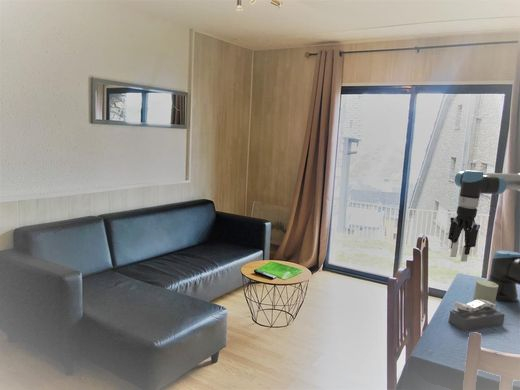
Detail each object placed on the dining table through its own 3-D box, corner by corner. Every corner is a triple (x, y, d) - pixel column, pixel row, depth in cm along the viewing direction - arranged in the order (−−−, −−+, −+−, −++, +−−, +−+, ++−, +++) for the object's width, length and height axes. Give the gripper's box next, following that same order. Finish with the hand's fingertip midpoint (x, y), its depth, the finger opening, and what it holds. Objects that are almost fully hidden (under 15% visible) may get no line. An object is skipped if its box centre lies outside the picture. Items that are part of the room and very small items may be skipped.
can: (496, 312, 188) (501, 287, 186) (475, 309, 190) (479, 284, 188) (490, 304, 197) (494, 280, 195) (469, 300, 199) (473, 277, 196)
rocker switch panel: (486, 316, 182) (488, 303, 181) (502, 325, 175) (505, 311, 174) (448, 321, 174) (450, 308, 173) (464, 331, 167) (466, 317, 166)
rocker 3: (487, 304, 181) (488, 300, 181) (496, 309, 177) (497, 305, 177) (478, 302, 178) (479, 298, 178) (486, 306, 174) (488, 303, 174)
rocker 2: (476, 302, 178) (476, 299, 177) (485, 307, 174) (485, 303, 173) (466, 307, 176) (466, 303, 176) (474, 311, 172) (474, 308, 172)
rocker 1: (463, 307, 175) (464, 303, 175) (471, 312, 171) (473, 308, 171) (453, 305, 173) (455, 301, 173) (462, 309, 169) (463, 306, 169)
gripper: (444, 202, 182) (436, 252, 186) (479, 211, 166) (469, 266, 170) (457, 202, 185) (448, 252, 189) (492, 211, 169) (482, 265, 173)
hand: (458, 258), depth 180 cm, fingers open, 5 cm apart
